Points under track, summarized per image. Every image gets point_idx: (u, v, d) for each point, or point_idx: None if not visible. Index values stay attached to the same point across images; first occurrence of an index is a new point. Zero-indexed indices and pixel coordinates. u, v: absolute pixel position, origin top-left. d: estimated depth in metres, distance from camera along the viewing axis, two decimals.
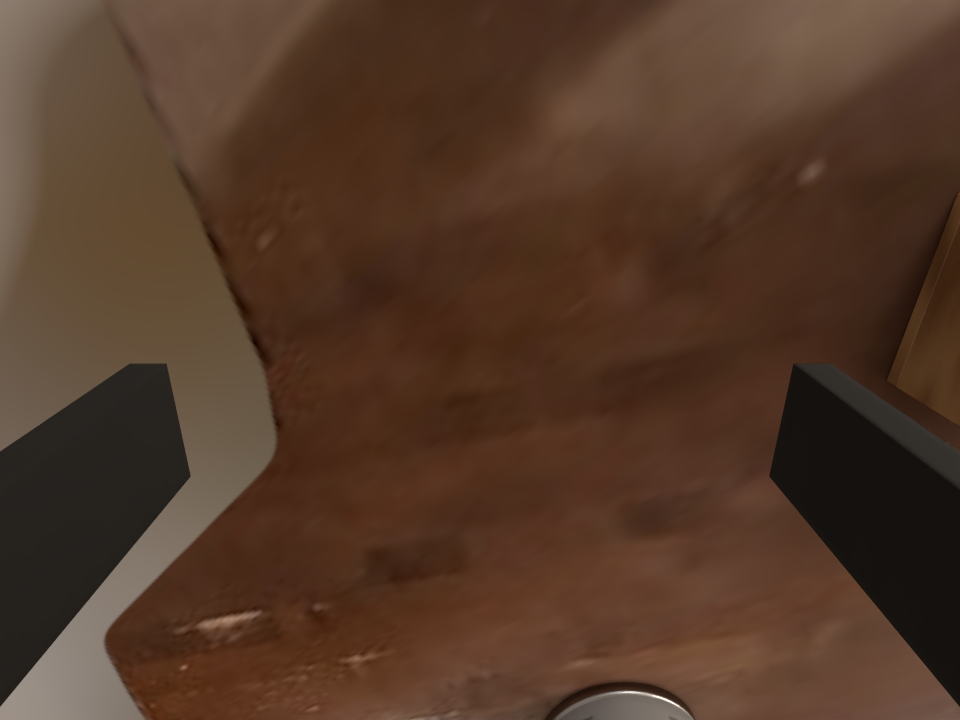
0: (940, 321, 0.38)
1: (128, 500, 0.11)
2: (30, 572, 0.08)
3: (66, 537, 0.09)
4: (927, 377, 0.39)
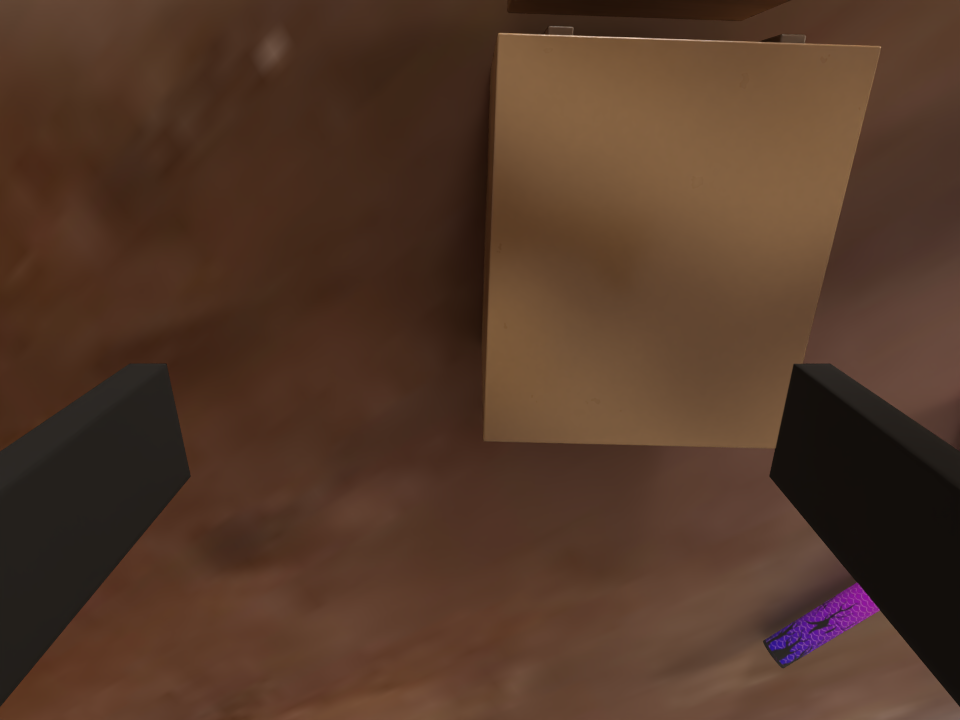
0: (485, 254, 0.27)
1: (128, 500, 0.11)
2: (30, 572, 0.08)
3: (66, 537, 0.09)
4: None
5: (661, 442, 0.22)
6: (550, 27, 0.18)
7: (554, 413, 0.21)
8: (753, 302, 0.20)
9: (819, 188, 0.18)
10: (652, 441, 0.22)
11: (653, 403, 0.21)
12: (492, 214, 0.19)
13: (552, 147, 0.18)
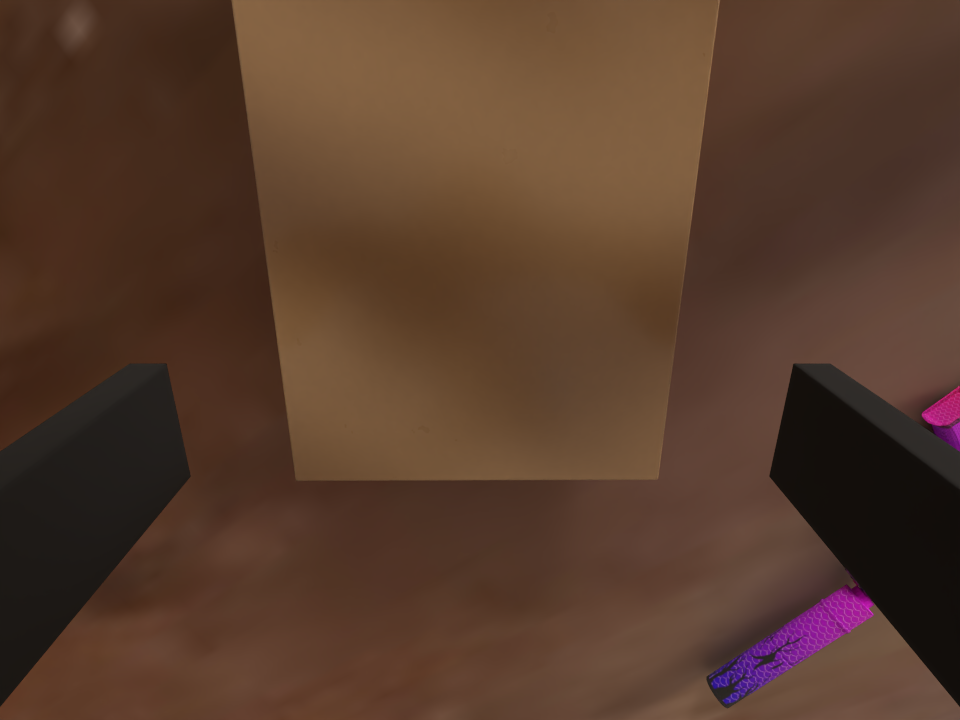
0: None
1: (128, 500, 0.11)
2: (30, 572, 0.08)
3: (67, 536, 0.09)
4: None
5: (511, 476, 0.18)
6: None
7: (376, 445, 0.17)
8: (600, 304, 0.16)
9: (665, 159, 0.15)
10: (499, 474, 0.18)
11: (494, 430, 0.17)
12: (259, 204, 0.15)
13: (320, 118, 0.14)
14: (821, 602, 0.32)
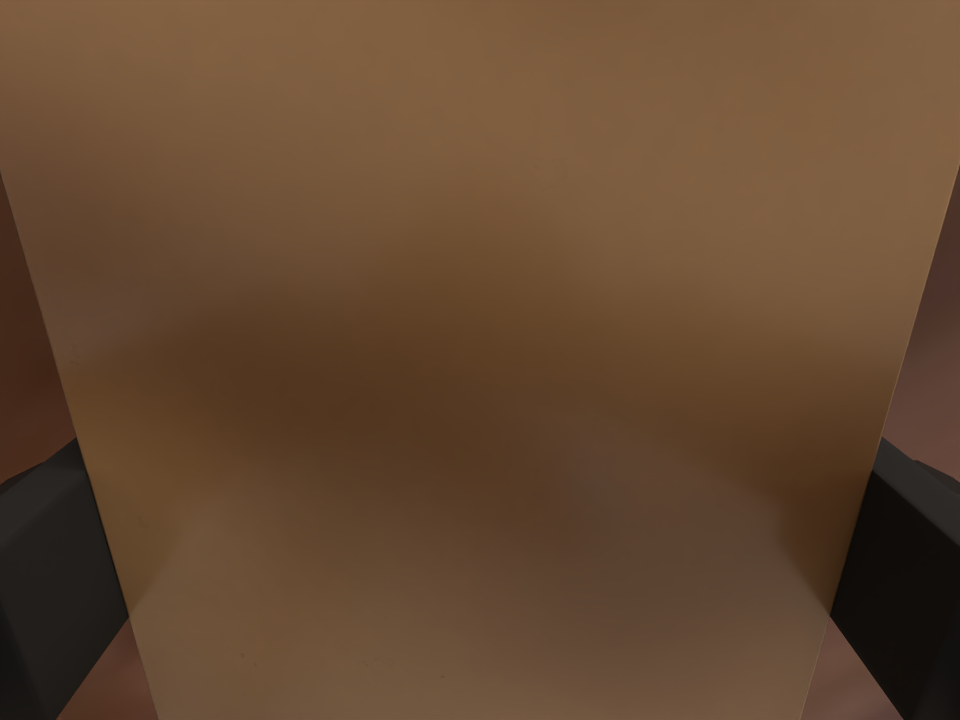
0: None
1: None
2: None
3: None
4: None
5: None
6: None
7: (299, 684, 0.10)
8: (720, 458, 0.08)
9: (884, 180, 0.07)
10: None
11: (511, 662, 0.10)
12: (30, 273, 0.07)
13: (137, 90, 0.06)
14: None
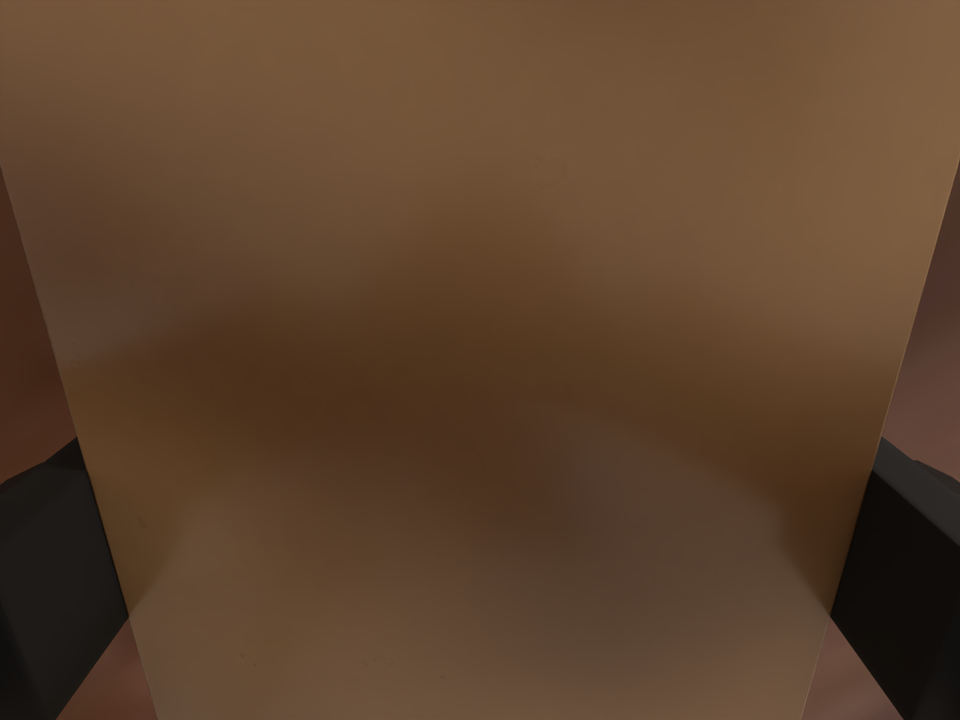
0: None
1: None
2: None
3: None
4: None
5: None
6: None
7: (299, 685, 0.10)
8: (720, 457, 0.08)
9: (883, 179, 0.07)
10: None
11: (511, 662, 0.10)
12: (31, 272, 0.07)
13: (139, 89, 0.06)
14: None
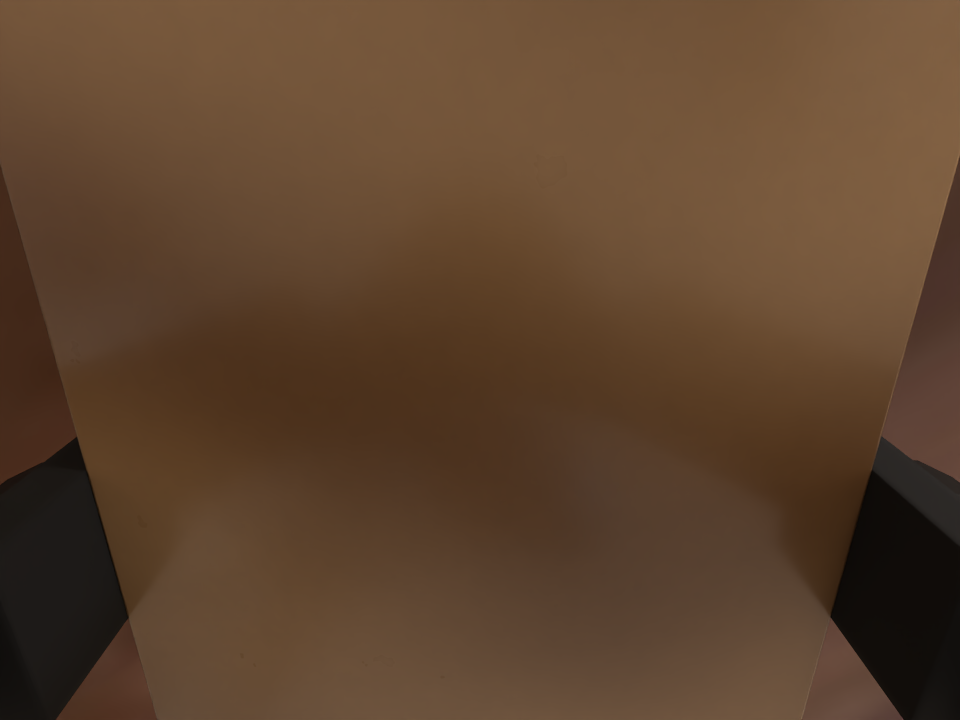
0: None
1: None
2: None
3: None
4: None
5: None
6: None
7: (299, 685, 0.10)
8: (720, 456, 0.08)
9: (882, 177, 0.07)
10: None
11: (511, 662, 0.10)
12: (31, 271, 0.07)
13: (138, 88, 0.06)
14: None
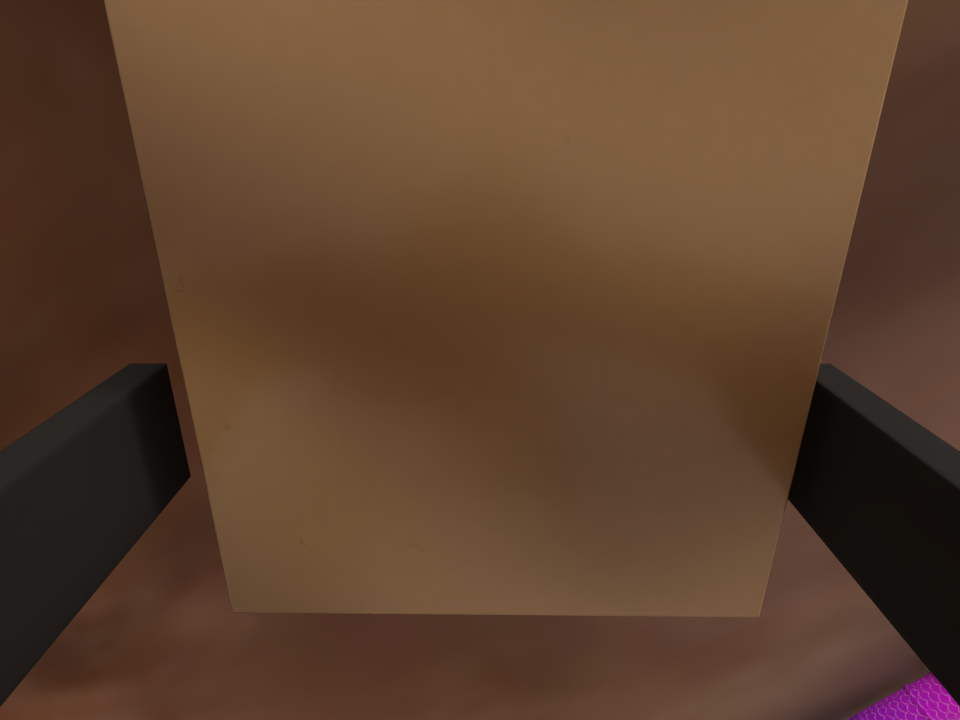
0: None
1: (128, 500, 0.11)
2: (30, 572, 0.08)
3: (66, 537, 0.09)
4: None
5: (544, 610, 0.12)
6: None
7: (347, 568, 0.12)
8: (692, 374, 0.10)
9: (816, 145, 0.09)
10: (527, 609, 0.12)
11: (521, 550, 0.12)
12: (150, 218, 0.09)
13: (241, 74, 0.08)
14: (906, 690, 0.26)
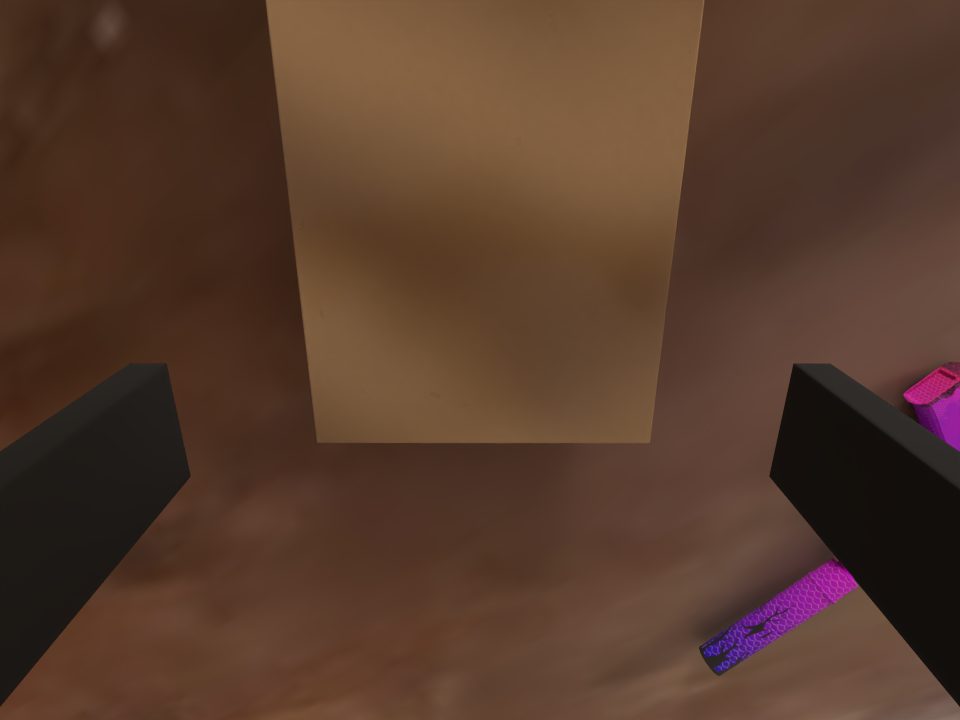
0: None
1: (128, 500, 0.11)
2: (30, 572, 0.08)
3: (66, 537, 0.09)
4: None
5: (514, 439, 0.20)
6: None
7: (390, 410, 0.19)
8: (596, 279, 0.17)
9: (655, 146, 0.16)
10: (504, 438, 0.19)
11: (499, 396, 0.19)
12: (288, 187, 0.16)
13: (344, 108, 0.16)
14: (808, 575, 0.33)
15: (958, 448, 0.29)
